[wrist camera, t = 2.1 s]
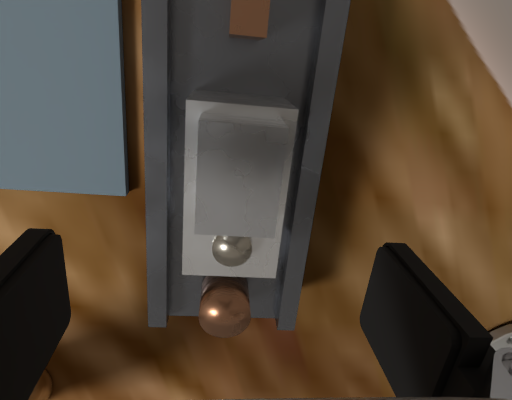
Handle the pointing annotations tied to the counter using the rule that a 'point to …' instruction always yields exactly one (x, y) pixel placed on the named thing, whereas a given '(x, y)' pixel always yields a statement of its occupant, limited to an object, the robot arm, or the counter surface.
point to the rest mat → (63, 97)
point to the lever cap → (235, 182)
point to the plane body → (242, 82)
